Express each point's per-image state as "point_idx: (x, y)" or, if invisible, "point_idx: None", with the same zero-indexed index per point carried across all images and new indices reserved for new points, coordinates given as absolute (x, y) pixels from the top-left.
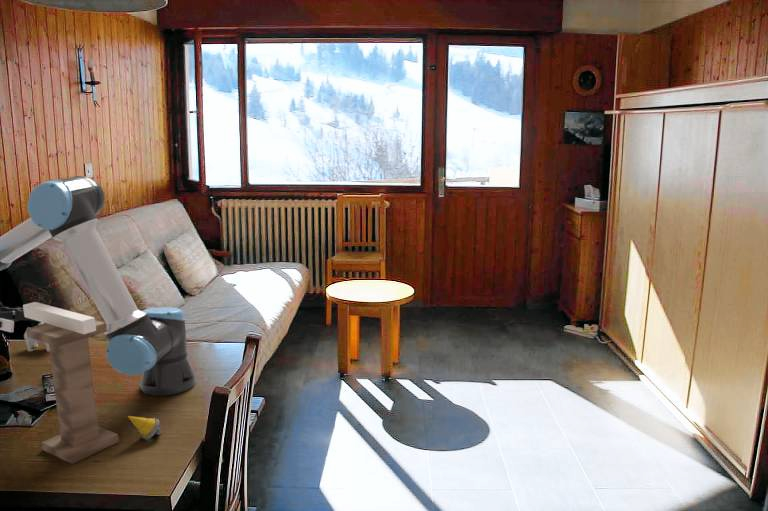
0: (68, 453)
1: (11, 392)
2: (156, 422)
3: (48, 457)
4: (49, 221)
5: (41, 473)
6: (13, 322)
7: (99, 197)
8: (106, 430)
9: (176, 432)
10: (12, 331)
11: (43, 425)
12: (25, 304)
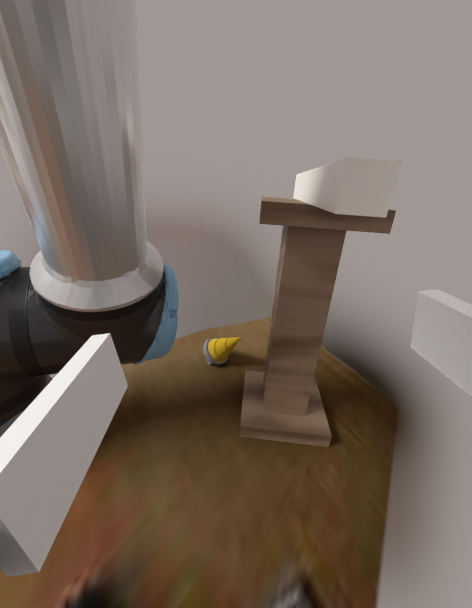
0: (315, 383)
1: None
2: (215, 337)
3: (330, 422)
4: None
5: (351, 399)
6: (421, 298)
7: None
8: (245, 386)
9: (194, 348)
10: (417, 344)
11: (280, 550)
12: (390, 161)
